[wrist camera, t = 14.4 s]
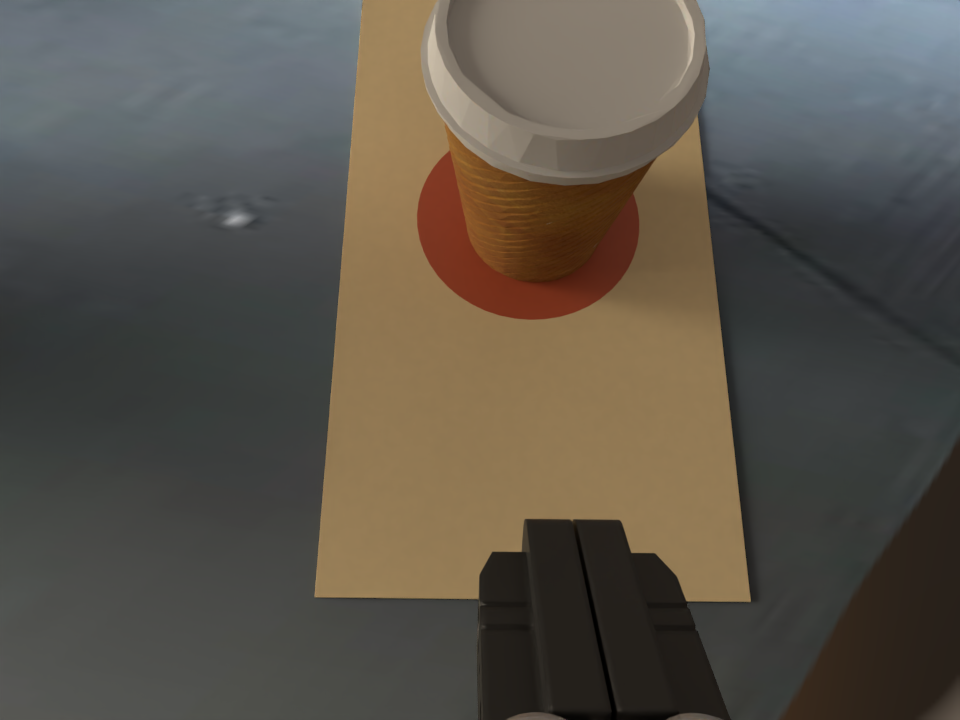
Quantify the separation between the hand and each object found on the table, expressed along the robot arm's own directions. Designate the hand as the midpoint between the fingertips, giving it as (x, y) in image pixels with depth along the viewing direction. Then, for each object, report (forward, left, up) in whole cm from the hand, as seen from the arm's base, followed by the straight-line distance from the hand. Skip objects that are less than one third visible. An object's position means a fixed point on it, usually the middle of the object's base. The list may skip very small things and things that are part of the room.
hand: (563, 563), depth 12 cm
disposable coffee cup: (+2, +17, -18) cm, 25 cm away
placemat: (+1, +17, -18) cm, 25 cm away
